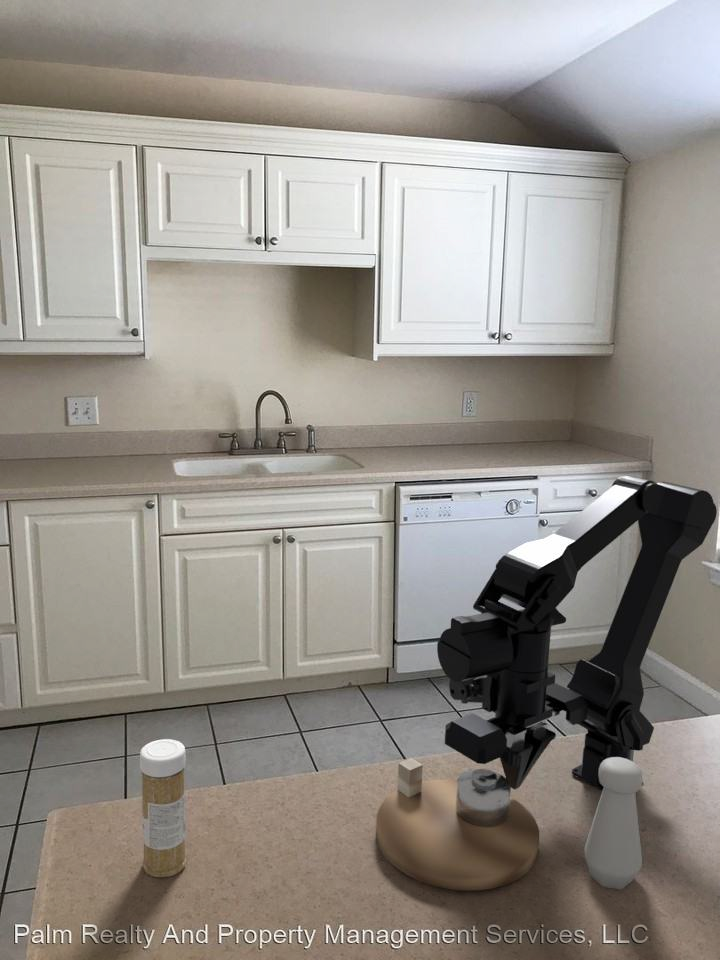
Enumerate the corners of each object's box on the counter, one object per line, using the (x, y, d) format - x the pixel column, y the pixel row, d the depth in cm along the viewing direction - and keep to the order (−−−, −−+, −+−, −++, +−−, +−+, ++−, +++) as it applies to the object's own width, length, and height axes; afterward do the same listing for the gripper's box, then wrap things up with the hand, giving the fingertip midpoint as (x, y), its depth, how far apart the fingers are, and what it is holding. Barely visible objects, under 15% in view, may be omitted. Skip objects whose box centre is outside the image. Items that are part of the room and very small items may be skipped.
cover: (481, 790, 99) (483, 756, 98) (519, 815, 94) (522, 778, 94) (444, 807, 95) (446, 772, 95) (483, 833, 91) (485, 796, 90)
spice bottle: (148, 851, 90) (146, 736, 87) (191, 852, 90) (189, 737, 87) (137, 879, 85) (134, 759, 82) (181, 880, 85) (179, 760, 82)
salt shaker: (628, 859, 91) (639, 749, 88) (648, 895, 85) (660, 779, 82) (575, 858, 90) (585, 749, 88) (591, 894, 85) (602, 779, 82)
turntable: (457, 774, 105) (459, 738, 104) (572, 847, 91) (576, 806, 90) (343, 824, 94) (344, 784, 93) (455, 915, 80) (458, 869, 79)
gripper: (522, 624, 107) (514, 736, 110) (414, 657, 95) (409, 781, 98) (595, 653, 98) (584, 773, 101) (485, 693, 87) (477, 827, 90)
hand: (513, 787), depth 98 cm, fingers closed
